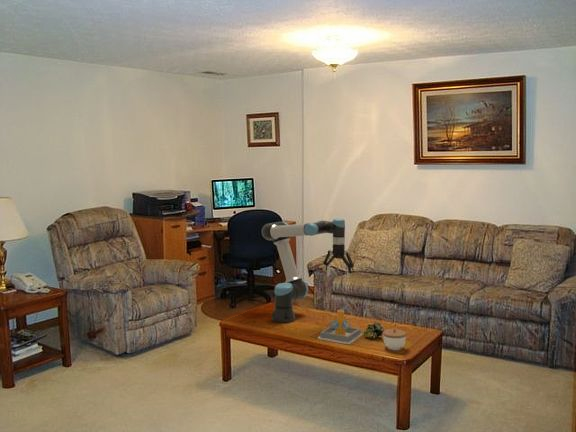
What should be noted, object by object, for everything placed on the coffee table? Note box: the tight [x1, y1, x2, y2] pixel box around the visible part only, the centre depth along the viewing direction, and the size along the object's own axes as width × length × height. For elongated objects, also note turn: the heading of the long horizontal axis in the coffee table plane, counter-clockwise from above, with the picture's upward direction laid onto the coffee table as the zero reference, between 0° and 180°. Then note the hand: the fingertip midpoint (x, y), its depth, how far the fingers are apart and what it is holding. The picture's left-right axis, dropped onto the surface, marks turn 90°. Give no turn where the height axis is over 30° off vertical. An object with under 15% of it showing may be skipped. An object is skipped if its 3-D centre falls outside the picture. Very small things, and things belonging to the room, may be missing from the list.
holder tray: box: [317, 323, 364, 345], centre depth 340 cm, size 20×20×4 cm
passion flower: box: [362, 322, 385, 340], centre depth 337 cm, size 11×11×12 cm
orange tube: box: [329, 309, 352, 335], centre depth 339 cm, size 12×10×15 cm
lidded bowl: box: [382, 328, 407, 351], centre depth 320 cm, size 13×13×11 cm
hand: (338, 277), depth 361 cm, fingers open, 13 cm apart
